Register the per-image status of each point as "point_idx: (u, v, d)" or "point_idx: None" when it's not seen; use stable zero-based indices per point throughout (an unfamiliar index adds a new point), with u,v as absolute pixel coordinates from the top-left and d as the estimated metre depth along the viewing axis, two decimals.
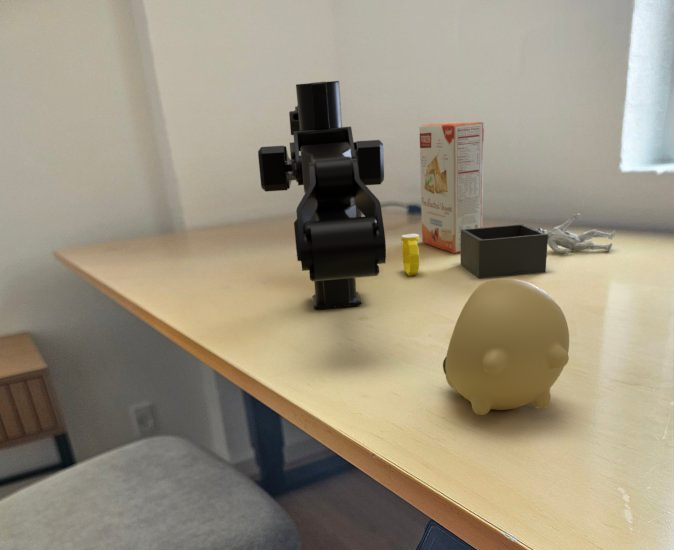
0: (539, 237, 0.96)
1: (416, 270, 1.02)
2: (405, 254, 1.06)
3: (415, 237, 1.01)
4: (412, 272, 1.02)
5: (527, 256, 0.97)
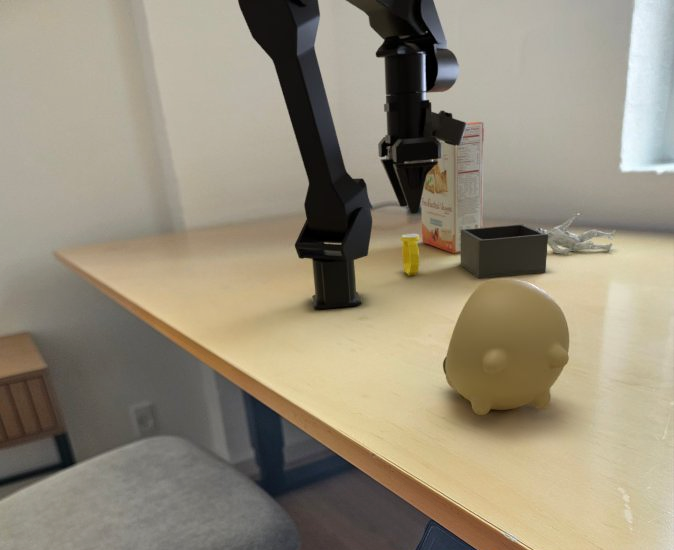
0: (539, 237, 0.96)
1: (416, 270, 1.02)
2: (405, 254, 1.06)
3: (415, 237, 1.01)
4: (412, 272, 1.02)
5: (527, 256, 0.97)
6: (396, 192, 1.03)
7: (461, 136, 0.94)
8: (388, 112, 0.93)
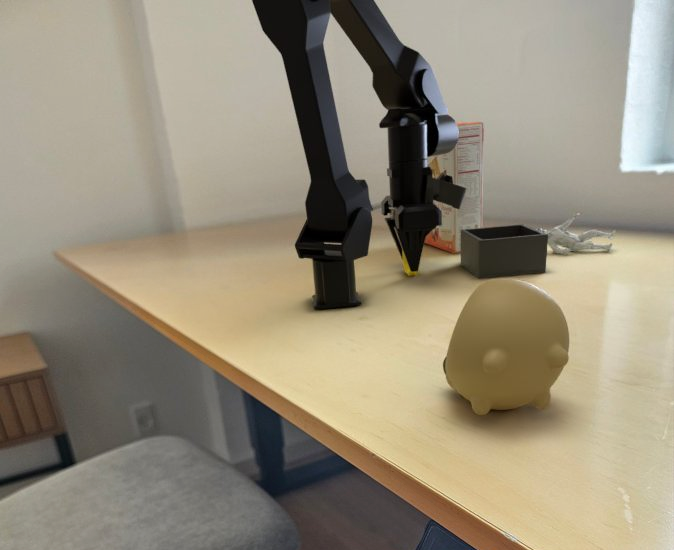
0: (539, 237, 0.96)
1: None
2: None
3: None
4: (412, 272, 1.02)
5: (527, 256, 0.97)
6: (400, 250, 1.06)
7: (461, 200, 0.98)
8: (391, 178, 0.97)
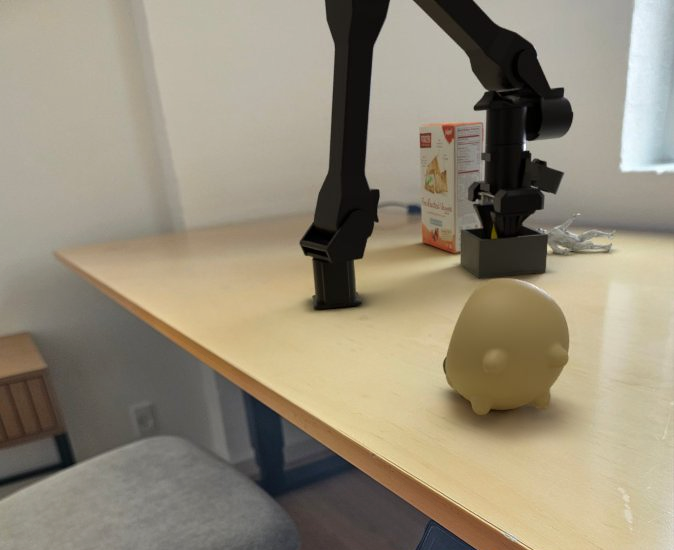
0: (539, 237, 0.96)
1: None
2: None
3: None
4: None
5: (527, 256, 0.97)
6: (488, 237, 1.04)
7: (558, 185, 0.96)
8: (488, 161, 0.95)
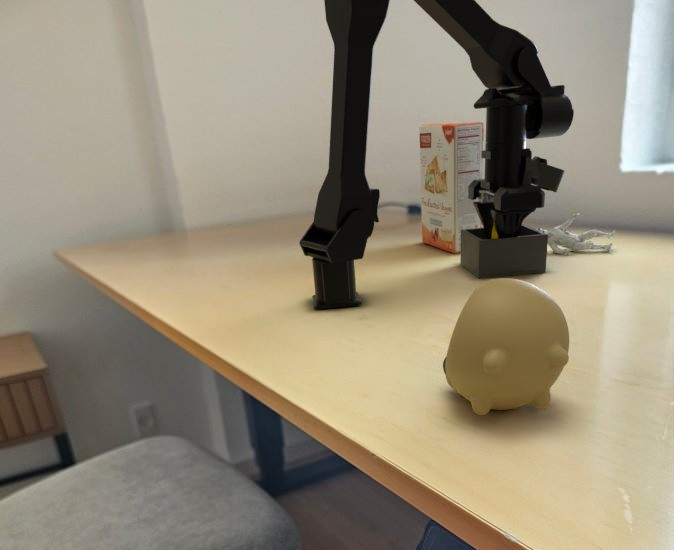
0: (539, 237, 0.96)
1: None
2: None
3: None
4: None
5: (527, 256, 0.97)
6: (489, 235, 1.04)
7: (558, 183, 0.96)
8: (488, 159, 0.95)
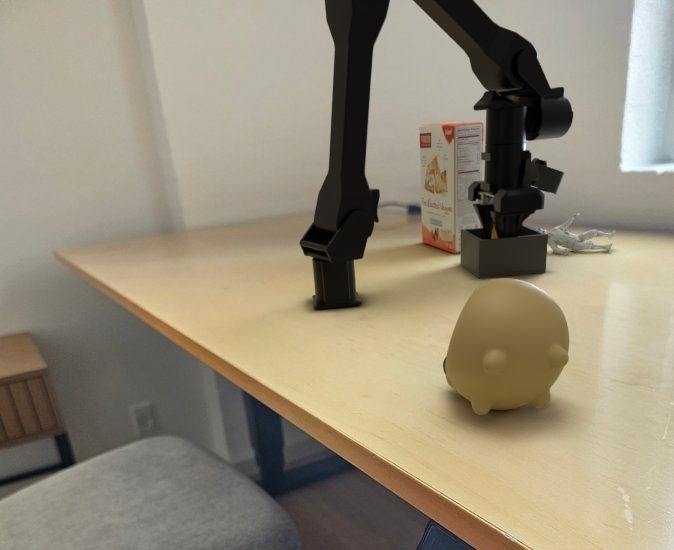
0: (539, 237, 0.96)
1: None
2: None
3: None
4: None
5: (527, 256, 0.97)
6: (488, 237, 1.04)
7: (558, 185, 0.96)
8: (488, 161, 0.95)
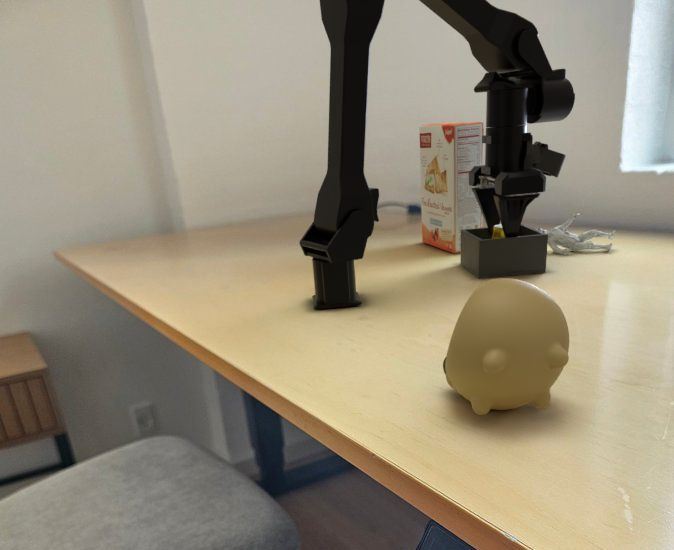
0: (539, 237, 0.96)
1: None
2: None
3: None
4: None
5: (527, 256, 0.97)
6: (487, 221, 1.04)
7: (560, 168, 0.95)
8: (488, 144, 0.94)
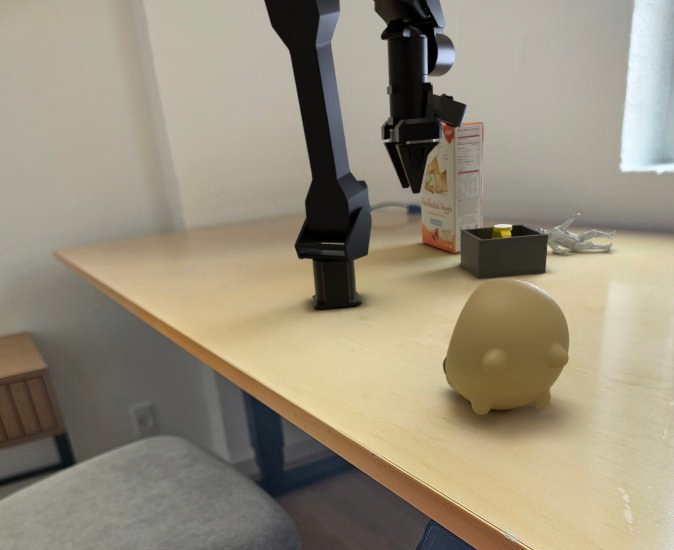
0: (539, 237, 0.96)
1: None
2: None
3: (508, 227, 0.99)
4: None
5: (527, 256, 0.97)
6: (398, 174, 1.06)
7: (462, 118, 0.97)
8: (391, 94, 0.96)
